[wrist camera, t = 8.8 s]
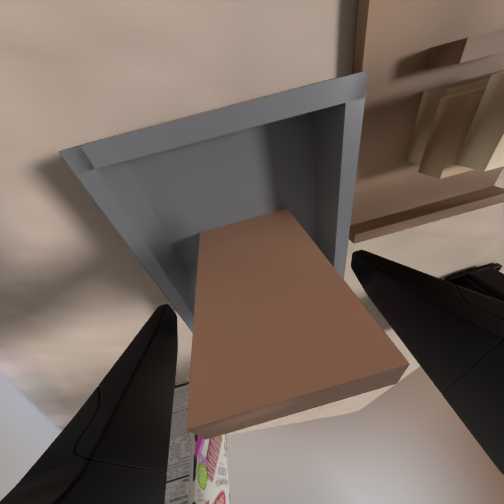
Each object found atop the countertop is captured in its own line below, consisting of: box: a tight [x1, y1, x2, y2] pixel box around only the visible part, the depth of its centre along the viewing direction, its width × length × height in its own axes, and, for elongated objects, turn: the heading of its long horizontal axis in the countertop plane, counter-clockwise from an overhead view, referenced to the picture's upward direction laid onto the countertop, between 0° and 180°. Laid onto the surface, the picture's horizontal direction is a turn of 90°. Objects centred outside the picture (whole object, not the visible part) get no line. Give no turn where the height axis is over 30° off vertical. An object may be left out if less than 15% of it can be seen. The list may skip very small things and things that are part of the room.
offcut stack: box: [406, 70, 504, 179], centre depth 10 cm, size 4×5×4 cm
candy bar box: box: [165, 382, 230, 504], centre depth 24 cm, size 11×5×16 cm, turn 15°
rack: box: [349, 0, 504, 243], centre depth 10 cm, size 16×12×2 cm
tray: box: [59, 70, 369, 333], centre depth 13 cm, size 14×12×4 cm
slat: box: [186, 208, 409, 440], centre depth 9 cm, size 1×6×10 cm, turn 103°
